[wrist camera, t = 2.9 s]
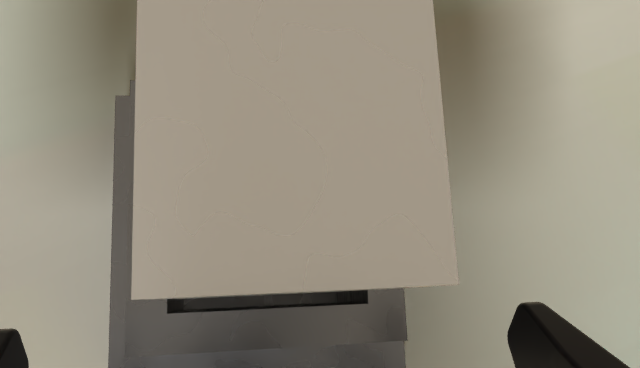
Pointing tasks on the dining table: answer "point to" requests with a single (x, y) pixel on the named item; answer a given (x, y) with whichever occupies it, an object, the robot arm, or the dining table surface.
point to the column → (288, 149)
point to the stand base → (238, 309)
